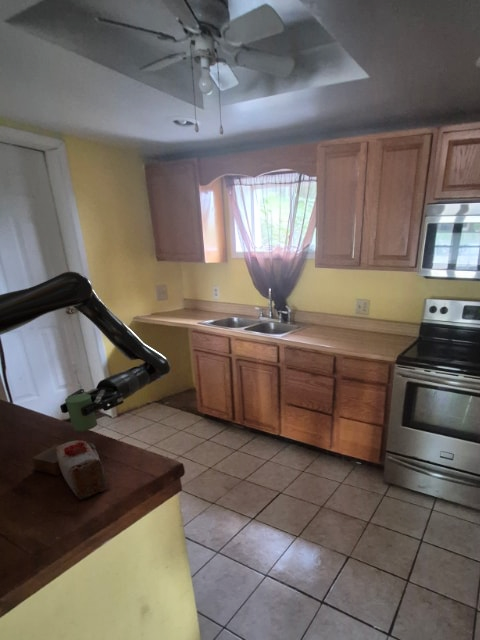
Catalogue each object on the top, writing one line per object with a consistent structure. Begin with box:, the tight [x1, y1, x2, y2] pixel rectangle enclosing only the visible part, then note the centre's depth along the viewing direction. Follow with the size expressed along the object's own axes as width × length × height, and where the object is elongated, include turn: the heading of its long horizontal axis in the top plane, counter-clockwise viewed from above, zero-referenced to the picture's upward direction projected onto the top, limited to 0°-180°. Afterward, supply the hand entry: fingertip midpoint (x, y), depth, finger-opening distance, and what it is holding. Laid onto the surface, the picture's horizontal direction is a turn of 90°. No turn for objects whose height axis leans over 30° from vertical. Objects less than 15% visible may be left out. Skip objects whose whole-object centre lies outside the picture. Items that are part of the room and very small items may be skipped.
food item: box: [56, 440, 108, 500], centre depth 84 cm, size 14×8×10 cm, turn 44°
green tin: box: [64, 394, 98, 432], centre depth 95 cm, size 6×6×8 cm
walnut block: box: [31, 443, 62, 476], centre depth 91 cm, size 7×7×4 cm
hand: (72, 411), depth 92 cm, fingers closed on green tin, 5 cm apart
